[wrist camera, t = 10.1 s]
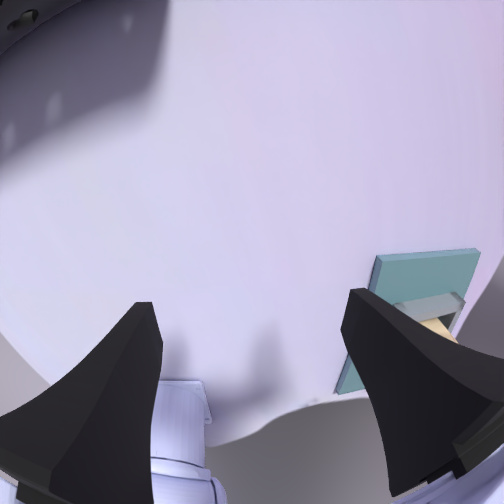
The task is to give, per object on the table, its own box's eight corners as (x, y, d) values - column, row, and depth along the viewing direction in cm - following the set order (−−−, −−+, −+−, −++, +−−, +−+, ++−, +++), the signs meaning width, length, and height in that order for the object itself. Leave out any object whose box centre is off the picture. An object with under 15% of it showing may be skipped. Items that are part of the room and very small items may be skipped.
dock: (423, 364, 30) (433, 379, 27) (335, 388, 28) (343, 408, 26) (475, 248, 22) (492, 261, 19) (376, 255, 20) (395, 274, 18)
